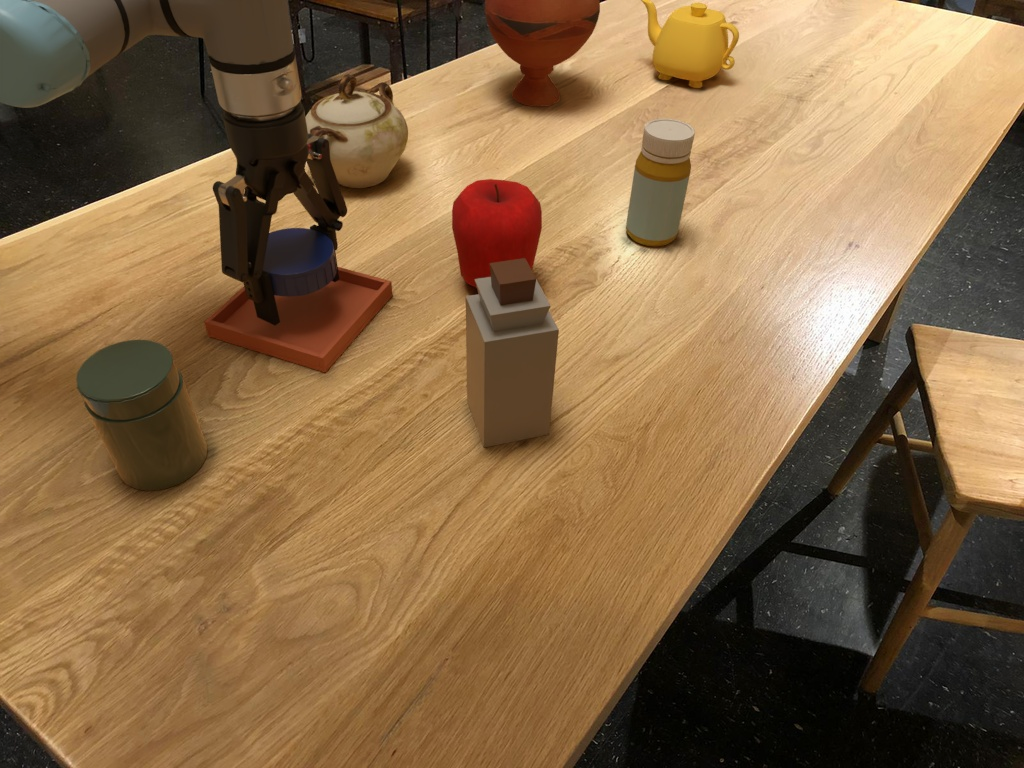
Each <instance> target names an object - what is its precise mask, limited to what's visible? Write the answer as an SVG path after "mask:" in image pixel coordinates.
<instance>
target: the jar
mask: <svg viewBox="0 0 1024 768" xmlns="http://www.w3.org/2000/svg"><path fill="white" fill-rule="evenodd" d="M76 389H77V391H78V392H79V394H80V396H81V397H83V399H84V406H85V409H86V411H87V413H88V416H89V418H90V419H91V422H92V423H93V426H94V428H95V429H96V430H95V431H96V432H97V433H98V435H99V438H100V440H101V442H102V444H103V446H104V448H105V449H106V451H107V454H108V456H109V458H110V460H111V462H112V464H113V466H114V467H115V470H116V472H117V474H118V476H119V478H120V479H121V481H123V483H125V484H126V485H127V486H129V487H130V488H133V489H135V490H140V491H145V492H146V491H148V492H151V491H162V490H166V489H170V488H172V487H175V486H178V485H181V484H182V483H184V482H186V481H187V480H188V479H190V478H191V477H192V476H194V475H195V474H196V473H197V472H198V471H199V470H200V469H201V467H202V466H203V465H204V463H205V461H206V459H207V455H208V444H207V441H206V438H205V435H204V433H203V430H202V427H201V425H200V422H199V419H198V417H197V414H196V411H195V408H194V405H193V401H192V400H191V399H192V398H191V397H190V394H189V391H188V389H187V386H186V383H185V380H184V378H183V374H182V372H181V371H180V370H179V369H178V367H177V365H176V362H175V360H174V357H173V354H172V352H171V351H170V350H169V348H167V347H166V346H165V345H164V344H162V343H159V342H157V341H154V340H148V339H129V340H124V341H119V342H116V343H113V344H109V345H107V346H105V347H103V348H101V349H99V350H98V351H96V352H94V353H92V354H91V355H90V356H89V357H88V358H87V359H85V361H83V363H81V366H80V367H79V368H78V371H77V373H76Z"/></svg>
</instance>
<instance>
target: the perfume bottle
mask: <svg viewBox="0 0 1024 768" xmlns="http://www.w3.org/2000/svg"><path fill="white" fill-rule="evenodd" d="M490 274H491V277H486V278H479V279H475V283H476V287H477V288H476V287H475V288H476V290H477V293H478V294H477V293H476V294H470V295H465V335H466V336H465V346H466V348H465V349H466V354H465V355H466V357H465V358H466V359H465V360H466V402H467V404H468V407H469V410H470V414H471V416H472V419H473V421H474V424H475V426H476V430H477V432H478V434H479V438H480V441H481V444H482V446H483V448H487V447H493V446H498V445H503V444H509V443H513V442H518V441H523V440H528V439H532V438H538V437H543V436H548V435H550V431H551V420H552V419H551V418H552V407H553V396H554V386H555V374H556V364H557V354H558V344H559V332H560V330H559V329H560V328H559V327H558V325H557V323H556V321H555V320H554V318H553V316H552V313H551V311H550V309H551V307H552V305H551V303H550V302H549V300H548V297H547V296H546V295H545V292H544V291H543V289H542V286H541V285H540V282H539V281H538V279H537V278H536V275H535V274H534V271H533V269H532V270H531V268H530V266H529V264H528V262H527V261H526V259H525V258H522V259H515V260H508V261H501V262H494V263H490Z"/></svg>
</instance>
